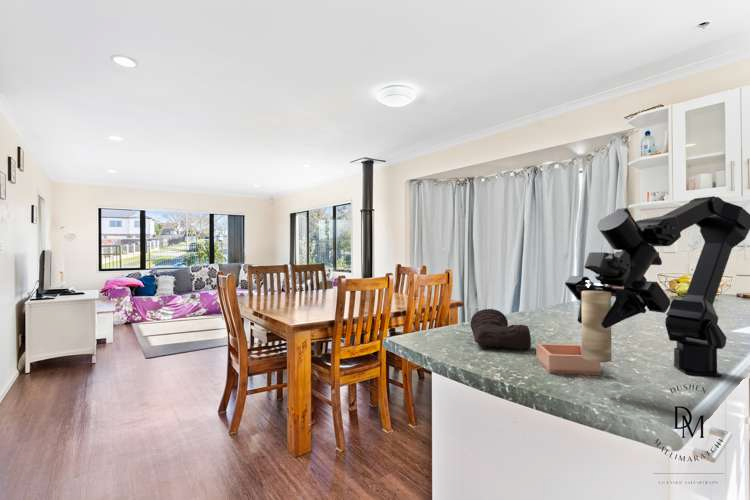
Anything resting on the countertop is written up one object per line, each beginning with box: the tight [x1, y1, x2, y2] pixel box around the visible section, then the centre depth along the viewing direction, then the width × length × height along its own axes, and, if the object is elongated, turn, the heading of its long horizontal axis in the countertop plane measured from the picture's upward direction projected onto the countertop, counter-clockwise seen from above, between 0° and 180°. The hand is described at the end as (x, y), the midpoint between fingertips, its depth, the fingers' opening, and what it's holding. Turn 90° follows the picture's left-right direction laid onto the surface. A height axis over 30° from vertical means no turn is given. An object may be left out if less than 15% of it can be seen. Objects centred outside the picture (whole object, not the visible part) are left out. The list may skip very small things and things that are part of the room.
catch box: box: [535, 343, 602, 376], centre depth 90 cm, size 11×11×4 cm
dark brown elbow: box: [470, 308, 532, 351], centre depth 111 cm, size 10×15×15 cm
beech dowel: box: [581, 291, 613, 363], centre depth 75 cm, size 5×5×13 cm
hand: (591, 324), depth 75 cm, fingers closed on beech dowel, 5 cm apart
